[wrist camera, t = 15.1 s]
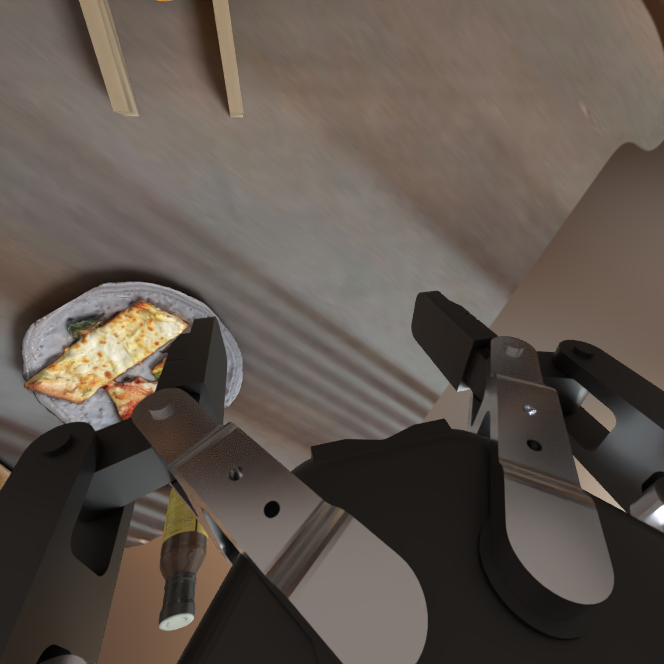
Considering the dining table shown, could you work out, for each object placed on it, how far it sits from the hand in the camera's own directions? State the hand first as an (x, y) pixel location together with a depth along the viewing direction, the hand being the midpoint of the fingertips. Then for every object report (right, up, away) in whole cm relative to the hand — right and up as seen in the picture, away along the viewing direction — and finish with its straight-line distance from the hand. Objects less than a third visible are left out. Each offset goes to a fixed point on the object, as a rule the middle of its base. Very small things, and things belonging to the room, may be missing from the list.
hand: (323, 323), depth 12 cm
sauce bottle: (-25, -27, +41) cm, 55 cm away
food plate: (-25, -5, +29) cm, 39 cm away
